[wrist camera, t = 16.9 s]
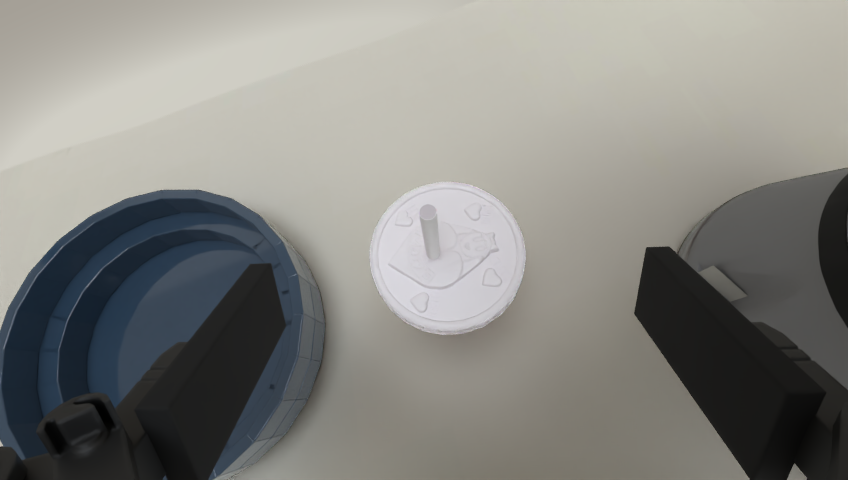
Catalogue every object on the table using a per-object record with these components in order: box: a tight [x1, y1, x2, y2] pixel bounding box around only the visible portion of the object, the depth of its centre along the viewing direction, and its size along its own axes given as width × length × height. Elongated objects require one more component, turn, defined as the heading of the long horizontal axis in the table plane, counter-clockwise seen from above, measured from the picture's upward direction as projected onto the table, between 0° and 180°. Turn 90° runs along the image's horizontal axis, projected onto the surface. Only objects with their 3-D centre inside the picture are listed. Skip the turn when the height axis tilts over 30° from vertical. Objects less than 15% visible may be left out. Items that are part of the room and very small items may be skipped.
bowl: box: [0, 190, 325, 480], centre depth 24 cm, size 16×16×4 cm
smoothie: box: [370, 182, 526, 335], centre depth 20 cm, size 6×6×14 cm
